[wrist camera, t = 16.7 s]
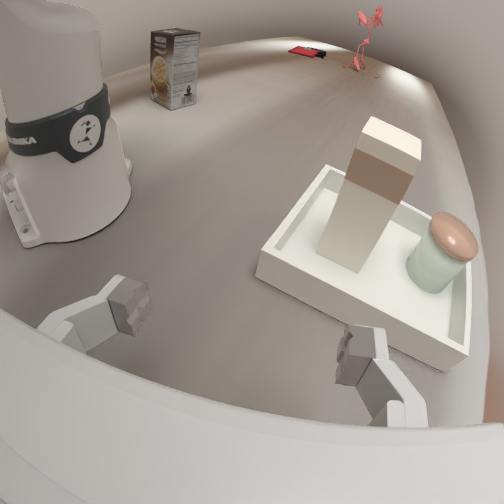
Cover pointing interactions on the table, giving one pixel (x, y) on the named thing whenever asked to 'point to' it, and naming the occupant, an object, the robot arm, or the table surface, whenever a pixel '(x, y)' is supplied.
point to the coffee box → (174, 67)
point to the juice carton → (369, 193)
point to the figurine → (376, 20)
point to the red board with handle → (308, 52)
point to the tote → (370, 279)
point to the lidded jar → (441, 253)
